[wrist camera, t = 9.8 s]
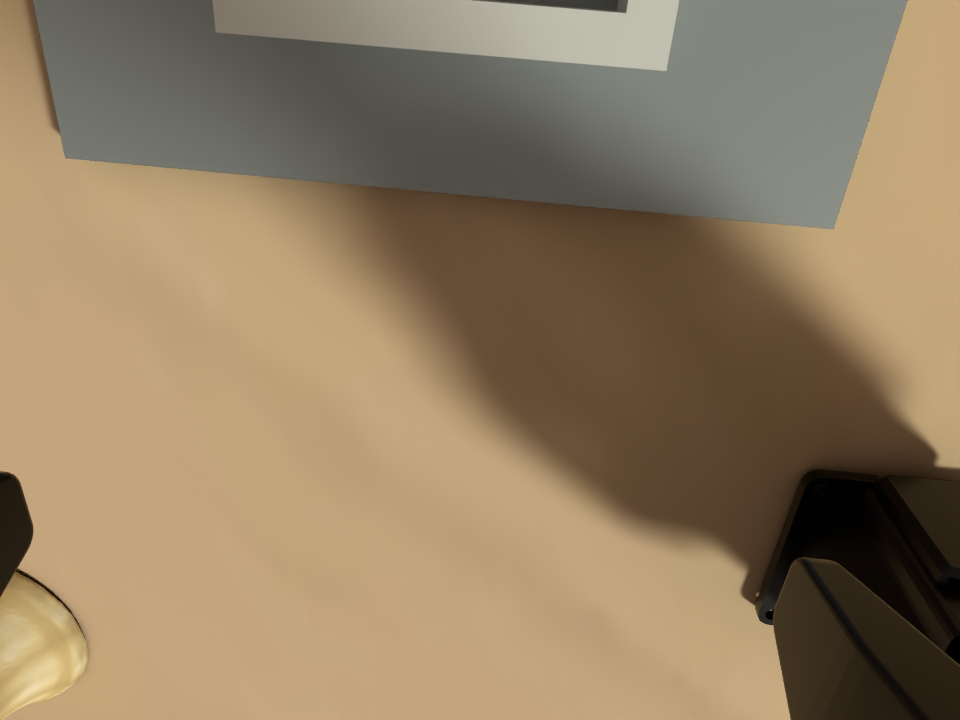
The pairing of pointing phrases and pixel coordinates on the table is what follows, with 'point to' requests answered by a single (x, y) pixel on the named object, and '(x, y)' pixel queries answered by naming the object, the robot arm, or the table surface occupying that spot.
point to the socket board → (486, 96)
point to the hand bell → (36, 646)
